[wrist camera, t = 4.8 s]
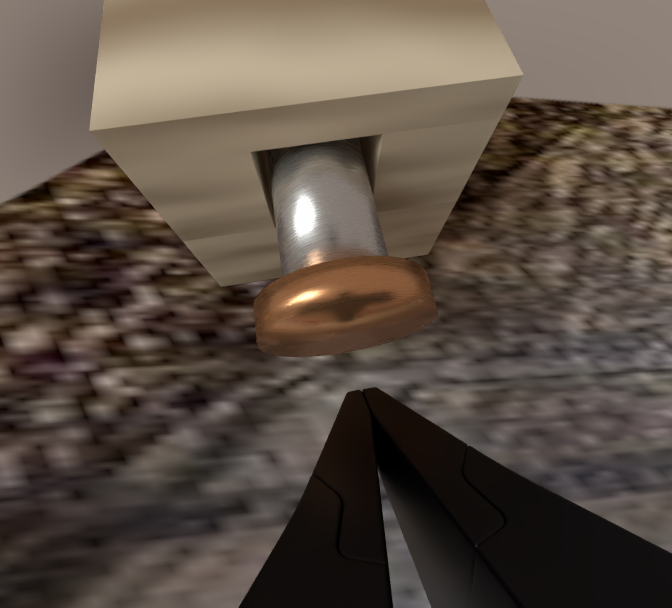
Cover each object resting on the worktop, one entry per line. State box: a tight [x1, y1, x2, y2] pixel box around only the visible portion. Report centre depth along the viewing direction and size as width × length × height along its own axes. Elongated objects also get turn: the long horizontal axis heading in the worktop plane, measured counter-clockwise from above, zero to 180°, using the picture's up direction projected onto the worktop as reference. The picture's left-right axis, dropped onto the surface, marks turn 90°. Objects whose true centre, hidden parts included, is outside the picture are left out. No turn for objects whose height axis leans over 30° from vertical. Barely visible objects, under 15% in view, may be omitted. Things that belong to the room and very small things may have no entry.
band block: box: [89, 0, 523, 287], centre depth 15 cm, size 8×12×10 cm, turn 100°
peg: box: [254, 137, 438, 357], centre depth 12 cm, size 9×6×6 cm, turn 10°
